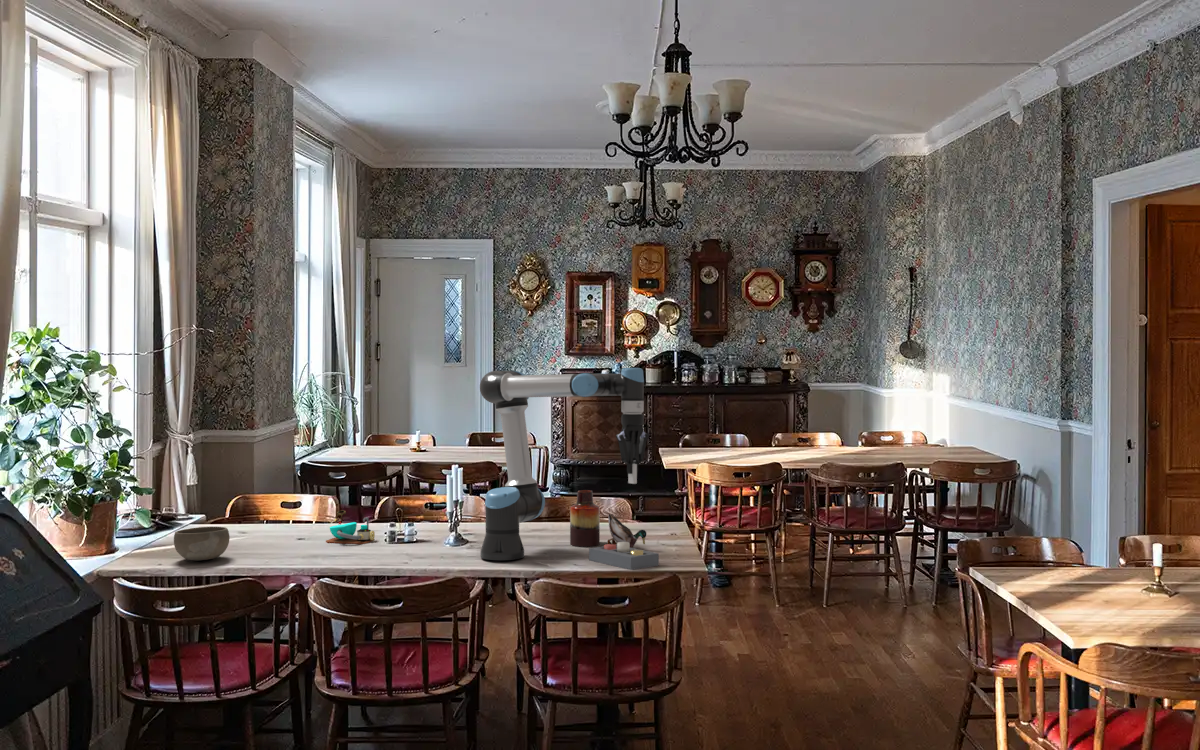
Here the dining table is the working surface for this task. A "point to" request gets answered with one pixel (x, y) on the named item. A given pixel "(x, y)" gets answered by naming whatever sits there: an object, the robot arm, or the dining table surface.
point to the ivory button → (623, 547)
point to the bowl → (201, 542)
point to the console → (624, 558)
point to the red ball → (610, 546)
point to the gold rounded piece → (636, 552)
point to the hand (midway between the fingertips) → (632, 483)
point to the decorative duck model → (623, 532)
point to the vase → (584, 521)
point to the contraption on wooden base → (351, 532)
